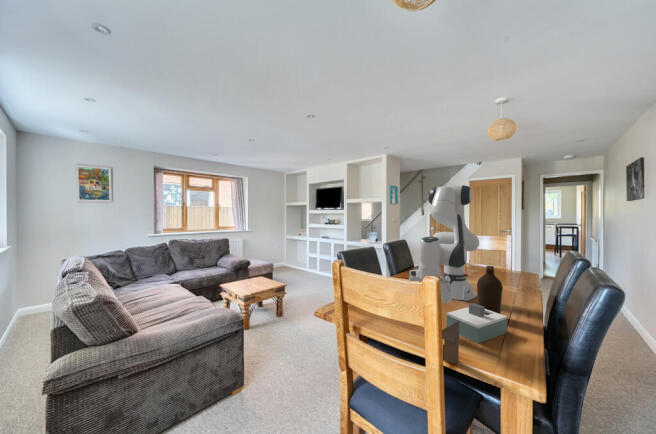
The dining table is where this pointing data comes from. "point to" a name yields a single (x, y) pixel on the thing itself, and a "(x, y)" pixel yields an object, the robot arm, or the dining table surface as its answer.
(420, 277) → the robot arm
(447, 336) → the wooden block
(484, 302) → the olive oil
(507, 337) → the dining table surface
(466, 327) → the open box
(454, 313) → the lid
